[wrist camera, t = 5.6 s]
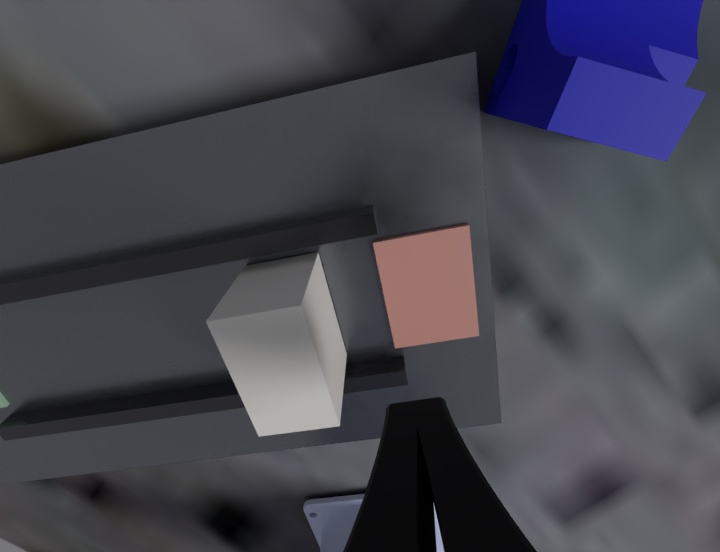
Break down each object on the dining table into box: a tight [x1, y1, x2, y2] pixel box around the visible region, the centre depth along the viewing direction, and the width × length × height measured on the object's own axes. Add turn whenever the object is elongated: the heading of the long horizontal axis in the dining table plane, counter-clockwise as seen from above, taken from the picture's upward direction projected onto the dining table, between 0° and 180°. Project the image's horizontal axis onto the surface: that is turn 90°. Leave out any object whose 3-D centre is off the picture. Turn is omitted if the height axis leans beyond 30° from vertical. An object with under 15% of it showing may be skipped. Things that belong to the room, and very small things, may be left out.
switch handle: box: [206, 252, 347, 437], centre depth 14 cm, size 5×3×4 cm, turn 12°
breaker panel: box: [0, 52, 501, 484], centre depth 17 cm, size 16×28×2 cm, turn 102°
